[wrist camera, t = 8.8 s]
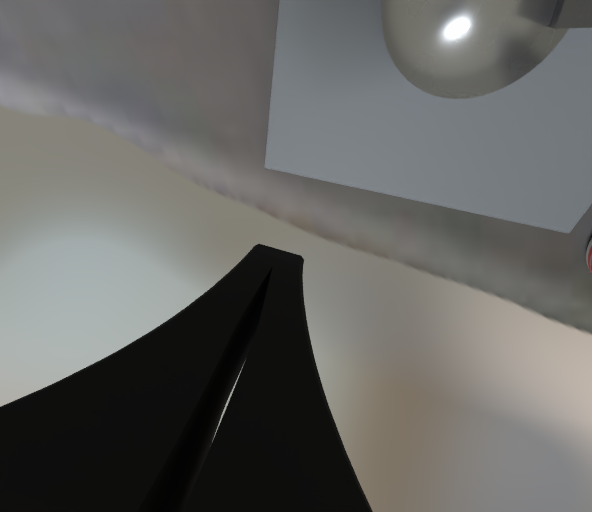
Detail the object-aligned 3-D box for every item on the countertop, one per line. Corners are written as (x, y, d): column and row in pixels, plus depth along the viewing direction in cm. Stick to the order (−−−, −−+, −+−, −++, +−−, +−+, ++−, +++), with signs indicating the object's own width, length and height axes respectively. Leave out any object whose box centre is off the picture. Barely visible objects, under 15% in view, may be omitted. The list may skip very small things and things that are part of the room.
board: (270, 158, 19) (264, 168, 18) (323, -379, 9) (316, -422, 8) (558, 220, 18) (569, 234, 17) (941, -306, 8) (1015, -344, 7)
